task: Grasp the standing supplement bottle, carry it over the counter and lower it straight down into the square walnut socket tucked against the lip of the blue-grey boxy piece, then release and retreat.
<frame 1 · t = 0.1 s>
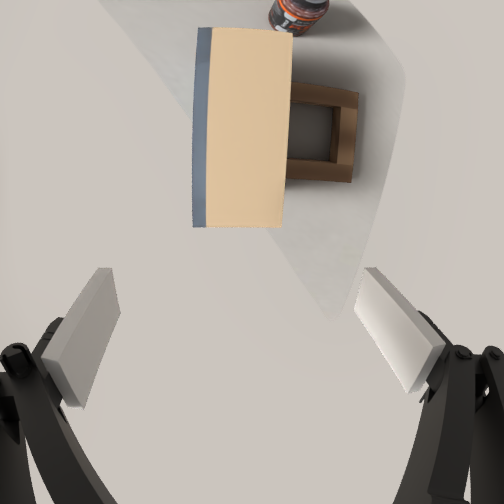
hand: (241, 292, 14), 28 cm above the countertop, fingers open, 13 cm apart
supplement bottle: (288, 20, 31), on the countertop
socket: (304, 131, 38), on the countertop
blue-grey boxy piece: (232, 126, 37), on the countertop
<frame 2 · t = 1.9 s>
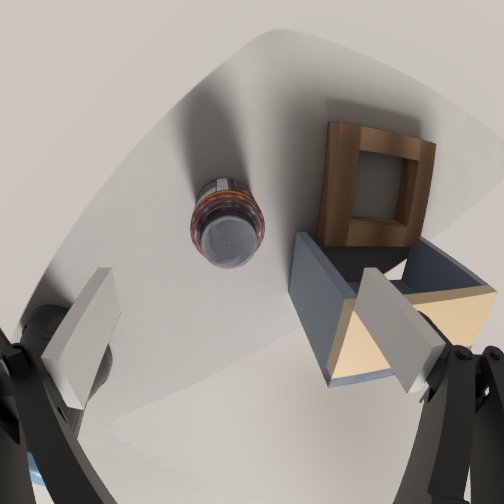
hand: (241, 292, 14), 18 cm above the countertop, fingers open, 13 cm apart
supplement bottle: (224, 203, 31), on the countertop
socket: (373, 185, 31), on the countertop
blue-grey boxy piece: (359, 262, 35), on the countertop
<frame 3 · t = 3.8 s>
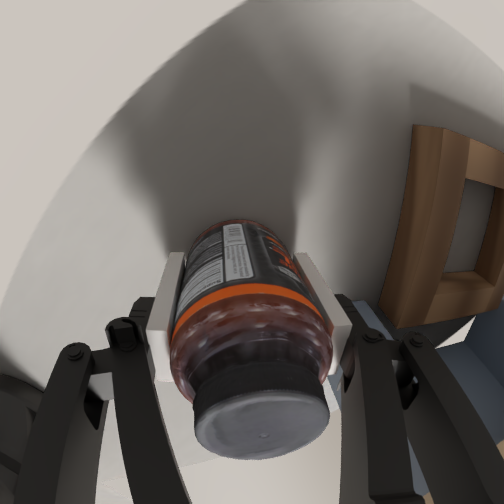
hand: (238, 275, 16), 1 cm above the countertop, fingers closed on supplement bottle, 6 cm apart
supplement bottle: (236, 262, 18), on the countertop, touching gripper
socket: (460, 226, 18), on the countertop
blue-grey boxy piece: (424, 331, 22), on the countertop
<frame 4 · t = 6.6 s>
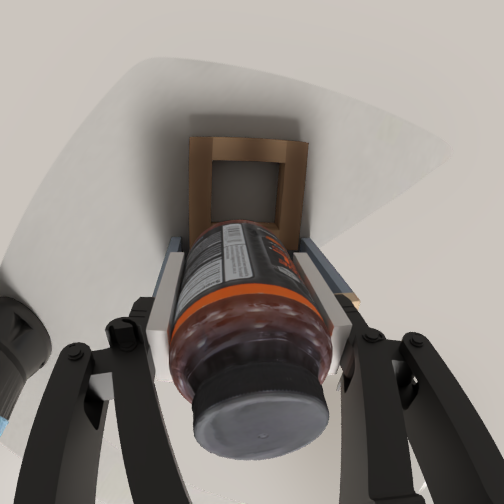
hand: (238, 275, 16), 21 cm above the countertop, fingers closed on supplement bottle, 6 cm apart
supplement bottle: (236, 262, 18), point 19 cm above the countertop, touching gripper
socket: (244, 190, 35), on the countertop
blue-grey boxy piece: (241, 265, 39), on the countertop
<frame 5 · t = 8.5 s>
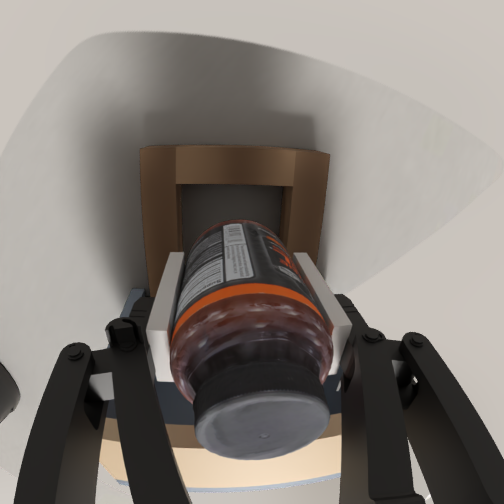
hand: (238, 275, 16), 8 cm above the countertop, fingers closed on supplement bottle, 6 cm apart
supplement bottle: (236, 262, 18), point 7 cm above the countertop, touching gripper
socket: (231, 225, 24), on the countertop
blue-grey boxy piece: (229, 324, 28), on the countertop
when the fingers open (4 cm above the countertop, at t = 9.7 s): supplement bottle drops 2 cm, resting in socket.
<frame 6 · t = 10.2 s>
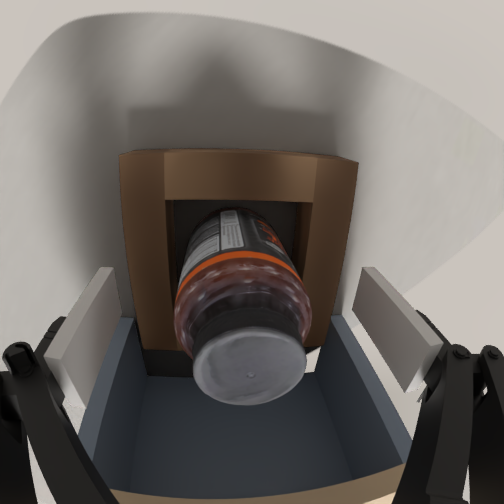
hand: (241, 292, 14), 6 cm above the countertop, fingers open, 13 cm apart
supplement bottle: (232, 246, 20), resting in socket
socket: (234, 247, 20), on the countertop
blue-grey boxy piece: (232, 356, 24), on the countertop
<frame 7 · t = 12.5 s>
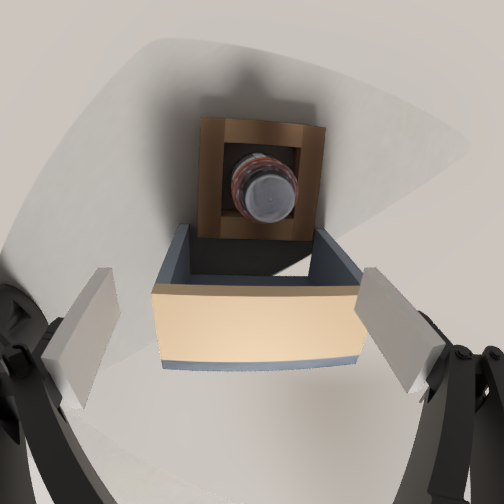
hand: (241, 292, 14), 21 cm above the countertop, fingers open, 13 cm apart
supplement bottle: (256, 176, 33), resting in socket
socket: (257, 177, 33), on the countertop
blue-grey boxy piece: (251, 256, 37), on the countertop
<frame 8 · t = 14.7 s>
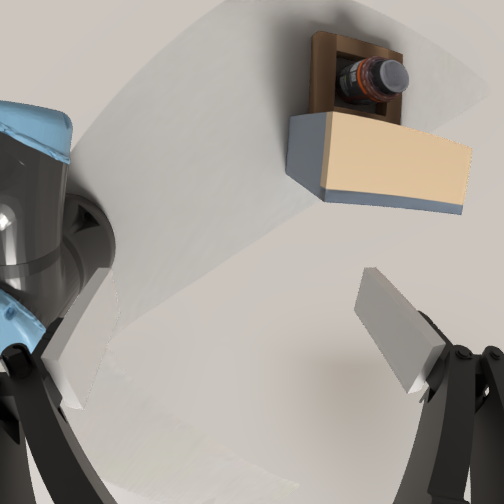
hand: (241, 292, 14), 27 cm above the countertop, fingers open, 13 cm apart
supplement bottle: (352, 85, 34), resting in socket
socket: (353, 85, 34), on the countertop
blue-grey boxy piece: (348, 151, 38), on the countertop
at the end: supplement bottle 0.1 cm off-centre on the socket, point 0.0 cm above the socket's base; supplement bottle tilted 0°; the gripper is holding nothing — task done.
